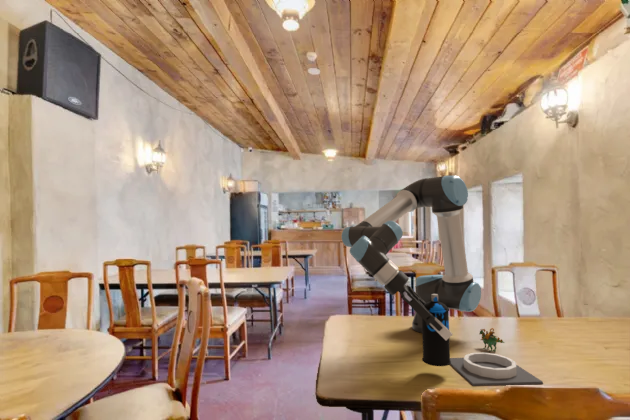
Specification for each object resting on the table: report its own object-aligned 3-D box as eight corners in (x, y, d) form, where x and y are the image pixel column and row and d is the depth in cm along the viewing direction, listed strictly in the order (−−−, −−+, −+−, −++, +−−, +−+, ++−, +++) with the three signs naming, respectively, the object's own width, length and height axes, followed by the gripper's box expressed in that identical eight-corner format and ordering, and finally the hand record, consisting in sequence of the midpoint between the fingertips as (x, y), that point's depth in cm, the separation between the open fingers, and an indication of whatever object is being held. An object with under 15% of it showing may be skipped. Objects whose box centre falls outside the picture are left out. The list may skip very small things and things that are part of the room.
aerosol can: (418, 357, 116) (416, 292, 117) (443, 355, 117) (442, 291, 117) (428, 367, 108) (426, 297, 109) (455, 365, 109) (453, 296, 109)
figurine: (483, 345, 139) (482, 323, 139) (508, 356, 127) (507, 331, 128) (476, 346, 138) (475, 323, 138) (501, 357, 126) (500, 332, 127)
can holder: (473, 385, 104) (472, 374, 104) (445, 359, 124) (444, 350, 124) (542, 383, 105) (542, 372, 105) (503, 358, 125) (503, 349, 125)
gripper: (384, 281, 127) (434, 331, 123) (381, 292, 106) (442, 353, 102) (399, 265, 126) (451, 315, 122) (400, 274, 105) (462, 334, 101)
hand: (447, 332), depth 112 cm, fingers closed on aerosol can, 8 cm apart
